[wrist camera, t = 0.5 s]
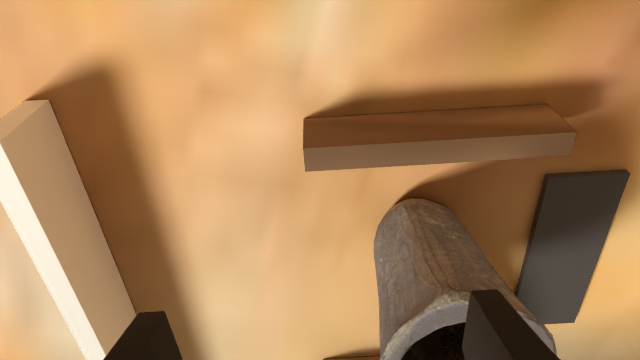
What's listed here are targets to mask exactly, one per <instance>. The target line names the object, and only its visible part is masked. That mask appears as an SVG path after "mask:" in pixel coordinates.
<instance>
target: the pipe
mask: <svg viewBox="0 0 640 360" xmlns="http://www.w3.org/2000/svg"><path fill="white" fill-rule="evenodd" d="M374 259H375V266H376V276H377V286H378V296H379V319H380V360H465V358H464V354H463V350H462V342H463V336H464V330H465V323H466V317H467V311H468V304H469V298H470V292H471V291H474V290H489V289H498V290H499V291H500V292H501V293H502V294H503V295H504V297H505V298H506V299H507V300H508V301H509V303H510V304H511V305H512V306H513V307H514V309H515V310H516V311H517V312H518V313H519V314H520V316H521V317H522V318H523V319H524V320H525V321H526V322H527V324H528V325H529V326H530V327H531V328H532V329H533V330H534V332H535V333H536V334H537V335H538V336H539V337H540V338H541V339H542V341H543V342H544V343H545V344H546V345H547V346H548V347H549V348H550V349H551V350H552V352H553V353H554V354H555V355H556V356H557V354H556V347H555V343H554V339H553V336H552V334H551V333H550V332H549V331H548V329H547V328H546V327H545V326H544V324H543V323H541V322H540V321H539V320H538V319H537V318H536V317H535V316H534V315H533V314H532V313H531V312H530V311H529V310H528V309H527V308H526V307H525V306H524V305H523V304H522V303H521V301H520V300H519V299H518V298H517V297H516V296H515V295H514V293H513V292H512V291H511V290H510V288H509V287H508V286H507V285H506V283H505V282H504V281H503V280H502V278H501V277H500V276H499V274H498V273H497V272H496V271H495V269H494V268H493V267H492V265H491V264H490V263H489V262H488V260H487V259H486V257H485V256H484V254H483V253H482V251H481V250H480V248H479V247H478V245H477V244H476V242H475V241H474V239H473V238H472V236H471V235H470V234H469V232H468V231H467V229H466V228H465V226H464V225H463V224H462V222H461V221H460V219H459V218H458V217H457V215H456V214H455V213H454V212H453V211H451V210H450V209H449V208H447V207H445V206H443V205H441V204H438V203H435V202H432V201H429V200H426V199H418V198H409V199H407V200H404V201H402V202H399V203H398V204H396V205H395V206H394V207H392V208H391V209H390V210H389V211H388V212H387V213H386V214H385V216H384V217H383V219H382V221H381V222H380V224H379V226H378V229H377V232H376V236H375V240H374Z"/></svg>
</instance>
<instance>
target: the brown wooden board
mask: <svg viewBox="0 0 640 360" xmlns="http://www.w3.org/2000/svg"><path fill="white" fill-rule="evenodd" d="M576 135H577V132H576V131H575V130H574V129H573V128H572V127H571V126H570V125H569V124H568V123H567V122H566V121H565V120H564V119H563V118H562V117H561V116H560V115H558V114H557V113H556V112H555V111H554V110H553V109H552V108H551V107H550V106H549V105H548V104H538V105H521V106H505V107H488V108H471V109H455V110H438V111H422V112H405V113H388V114H372V115H355V116H339V117H322V118H305V119H304V129H303V151H304V163H305V172H306V171H323V170H340V169H357V168H374V167H391V166H408V165H425V164H442V163H459V162H476V161H493V160H510V159H526V158H543V157H560V156H571V152H572V149H573V145H574V142H575V138H576ZM323 360H380V356H374V357H356V358H338V359H323Z"/></svg>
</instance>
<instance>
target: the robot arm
mask: <svg viewBox="0 0 640 360" xmlns="http://www.w3.org/2000/svg"><path fill="white" fill-rule="evenodd" d="M462 350H463V354H464V358H465V360H560V359H559V358H558V357H557V356H556V355H555V354H554V353H553V352H552V350H551V349H550V348H549V347H548V346H547V345H546V344H545V343H544V342H543V341H542V339H541V338H540V337H539V336H538V335H537V334H536V333H535V332H534V330H533V329H532V328H531V327H530V326H529V325H528V324H527V322H526V321H525V320H524V319H523V318H522V317H521V316H520V314H519V313H518V312H517V311H516V310H515V309H514V307H513V306H512V305H511V304H510V303H509V301H508V300H507V299H506V298H505V297H504V295H503V294H502V293H501V292H500V291H499V290H498V289H489V290H474V291H471V292H470V298H469V304H468V311H467V317H466V323H465V330H464V336H463V342H462ZM103 360H183V359H182V357H181V354H180V351H179V349H178V346H177V343H176V341H175V338H174V335H173V333H172V330H171V327H170V325H169V322H168V319H167V317H166V314H165V311H159V312H144V313H138V315H137V316H136V317H135V318H134V319H133V321H132V322H131V323H130V325H129V326H128V327H127V329H126V330H125V331H124V333H123V334H122V335H121V337H120V338H119V339H118V341H117V342H116V343H115V345H114V346H113V347H112V349H111V350H110V351H109V352H108V354H107V355H106V356H105V358H104V359H103Z"/></svg>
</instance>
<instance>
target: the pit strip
mask: <svg viewBox="0 0 640 360" xmlns="http://www.w3.org/2000/svg"><path fill="white" fill-rule="evenodd" d="M629 175H630V173H629V172H628V171H627V170H617V171H600V172H583V173H566V174H549V175H546V177H545V181H544V185H543V189H542V192H541V196H540V200H539V204H538V208H537V212H536V216H535V220H534V224H533V227H532V231H531V235H530V239H529V243H528V247H527V251H526V255H525V259H524V263H523V266H522V270H521V274H520V278H519V282H518V286H517V290H516V294H515V296H516V297H517V298H518V299H519V300H520V301H521V303H522V304H523V305H524V306H525V307H526V308H527V309H528V310H529V311H530V312H531V313H532V314H533V315H534V316H535V317H536V318H537V319H538V320H539V321H540V322H541V323H543V324H557V323H574V322H575V319H576V316H577V314H578V311H579V308H580V306H581V303H582V300H583V298H584V295H585V292H586V290H587V287H588V284H589V282H590V279H591V276H592V274H593V271H594V268H595V266H596V263H597V260H598V258H599V255H600V252H601V250H602V247H603V244H604V242H605V239H606V236H607V234H608V231H609V228H610V226H611V223H612V220H613V218H614V215H615V212H616V210H617V207H618V205H619V202H620V199H621V197H622V194H623V191H624V189H625V186H626V183H627V181H628V178H629Z"/></svg>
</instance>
